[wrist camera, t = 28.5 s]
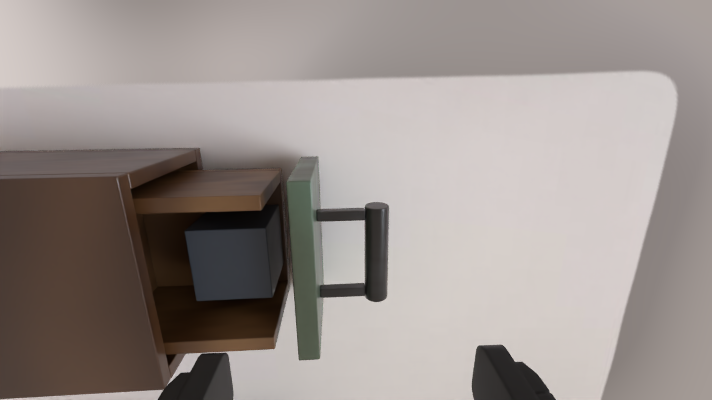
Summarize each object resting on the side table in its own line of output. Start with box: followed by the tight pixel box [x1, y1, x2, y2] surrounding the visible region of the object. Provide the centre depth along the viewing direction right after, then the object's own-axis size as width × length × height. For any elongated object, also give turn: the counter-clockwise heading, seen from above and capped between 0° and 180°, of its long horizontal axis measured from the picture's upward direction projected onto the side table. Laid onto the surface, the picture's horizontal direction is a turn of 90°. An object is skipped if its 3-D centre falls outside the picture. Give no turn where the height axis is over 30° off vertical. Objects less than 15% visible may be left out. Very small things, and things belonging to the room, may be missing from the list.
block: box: [184, 205, 284, 301], centre depth 21 cm, size 4×4×4 cm
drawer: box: [131, 157, 389, 360], centre depth 20 cm, size 17×10×7 cm, turn 90°
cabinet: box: [0, 148, 203, 399], centre depth 20 cm, size 14×12×9 cm
